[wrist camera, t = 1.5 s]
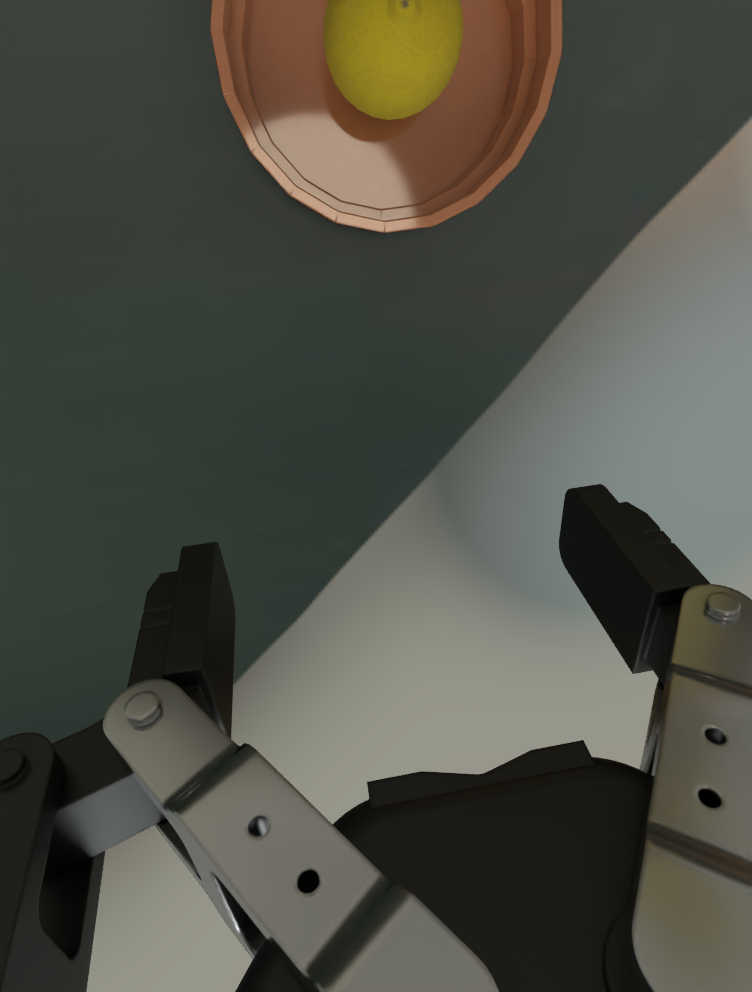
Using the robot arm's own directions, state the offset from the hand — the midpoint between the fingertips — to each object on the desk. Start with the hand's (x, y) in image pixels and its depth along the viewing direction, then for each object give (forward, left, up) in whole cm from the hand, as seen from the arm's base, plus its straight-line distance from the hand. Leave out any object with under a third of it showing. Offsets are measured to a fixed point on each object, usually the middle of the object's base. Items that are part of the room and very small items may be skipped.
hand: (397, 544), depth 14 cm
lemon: (-9, +11, -21) cm, 25 cm away
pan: (-9, +11, -22) cm, 26 cm away
